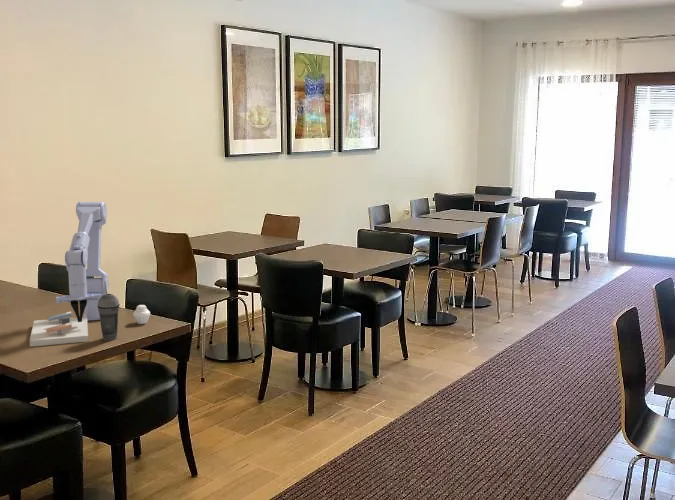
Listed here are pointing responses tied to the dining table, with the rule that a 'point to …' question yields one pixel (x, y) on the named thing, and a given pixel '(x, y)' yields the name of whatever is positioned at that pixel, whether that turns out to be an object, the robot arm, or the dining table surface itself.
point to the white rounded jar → (141, 314)
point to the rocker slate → (60, 316)
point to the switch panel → (58, 332)
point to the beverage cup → (108, 315)
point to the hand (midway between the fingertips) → (79, 321)
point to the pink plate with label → (59, 327)
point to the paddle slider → (65, 320)
